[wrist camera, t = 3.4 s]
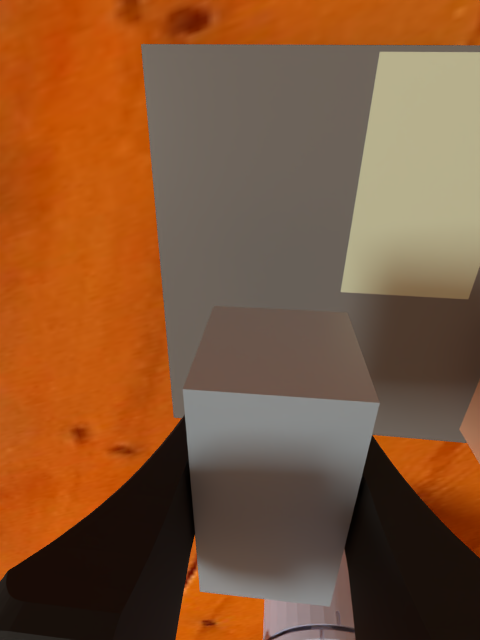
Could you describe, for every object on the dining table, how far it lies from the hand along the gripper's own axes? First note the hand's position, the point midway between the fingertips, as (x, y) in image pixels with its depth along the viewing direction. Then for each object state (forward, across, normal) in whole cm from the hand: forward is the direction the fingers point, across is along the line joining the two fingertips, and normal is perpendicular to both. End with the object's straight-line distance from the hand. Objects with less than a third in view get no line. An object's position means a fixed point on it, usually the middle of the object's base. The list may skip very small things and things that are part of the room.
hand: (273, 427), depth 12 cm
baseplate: (+9, -6, -2) cm, 11 cm away
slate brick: (+1, 0, 0) cm, 1 cm away
